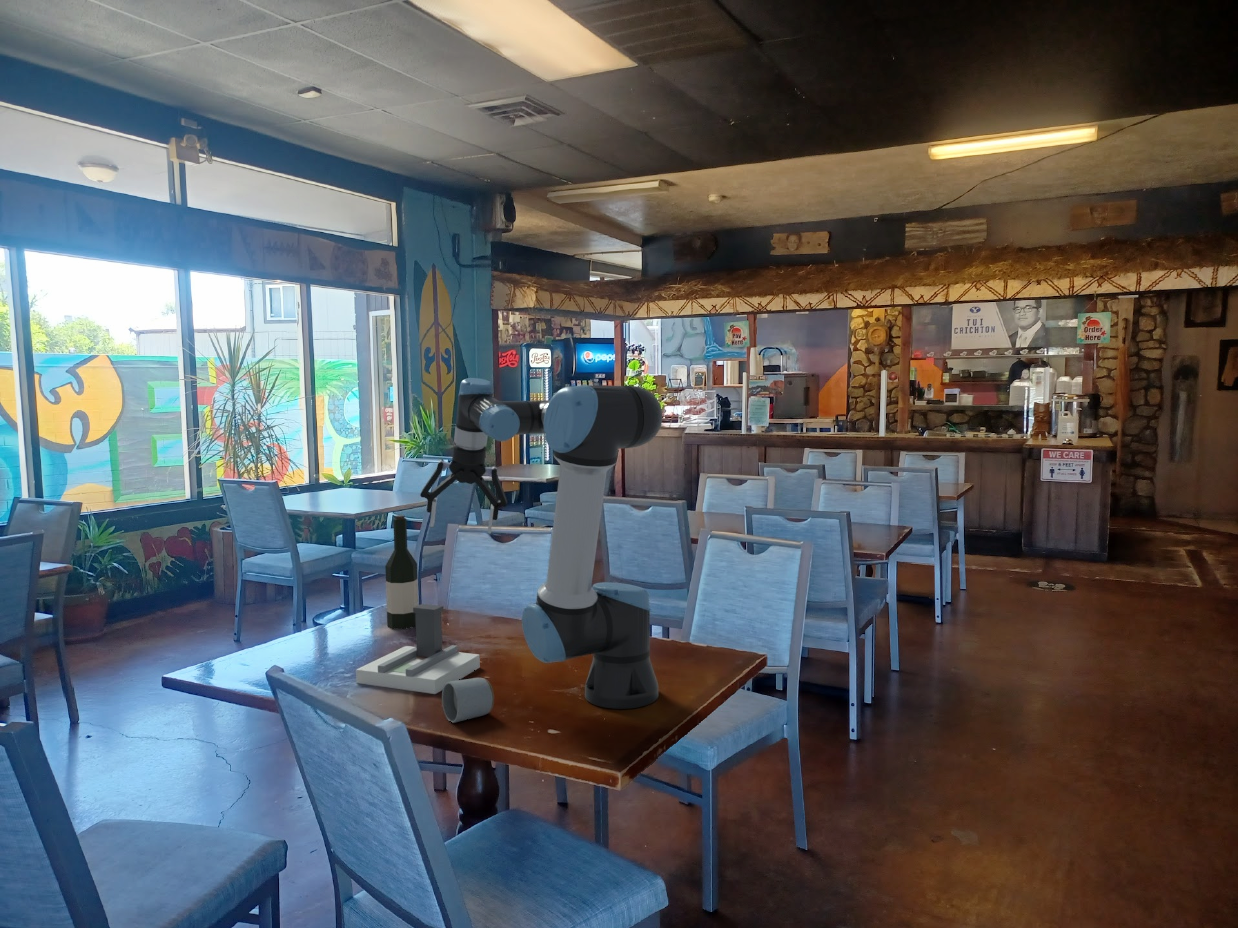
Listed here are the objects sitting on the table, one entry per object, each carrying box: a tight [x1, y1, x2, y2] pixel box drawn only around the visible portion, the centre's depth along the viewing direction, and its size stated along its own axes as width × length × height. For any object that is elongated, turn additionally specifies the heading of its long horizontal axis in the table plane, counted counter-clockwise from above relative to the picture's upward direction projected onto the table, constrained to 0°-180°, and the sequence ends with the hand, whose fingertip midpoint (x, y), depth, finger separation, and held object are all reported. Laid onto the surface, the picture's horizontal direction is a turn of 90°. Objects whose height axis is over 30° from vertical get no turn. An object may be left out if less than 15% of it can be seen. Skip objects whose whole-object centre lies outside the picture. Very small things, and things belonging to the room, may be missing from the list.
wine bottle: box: [385, 514, 419, 630], centre depth 224 cm, size 8×8×30 cm
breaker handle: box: [413, 603, 444, 657], centre depth 187 cm, size 6×4×11 cm, turn 69°
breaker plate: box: [355, 644, 481, 695], centre depth 184 cm, size 20×18×4 cm
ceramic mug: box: [441, 677, 495, 724], centre depth 161 cm, size 11×8×8 cm
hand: (460, 528), depth 199 cm, fingers open, 13 cm apart
